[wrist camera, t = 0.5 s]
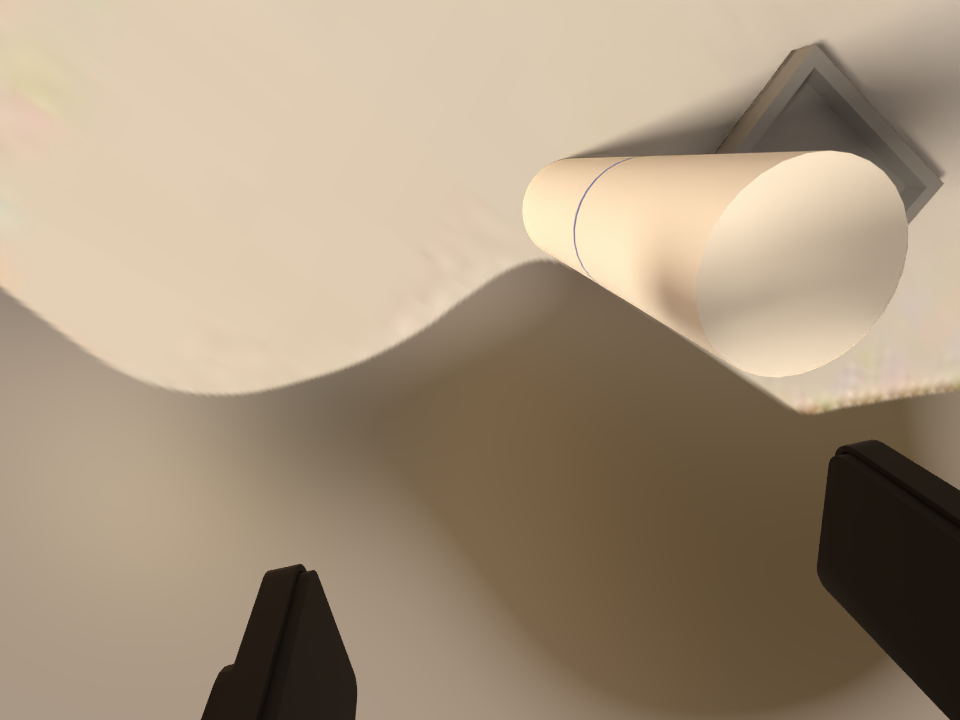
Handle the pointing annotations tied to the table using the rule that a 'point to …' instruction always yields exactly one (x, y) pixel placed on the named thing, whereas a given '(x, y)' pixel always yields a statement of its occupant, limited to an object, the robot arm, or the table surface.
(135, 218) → the table surface
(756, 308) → the cylindrical container
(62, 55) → the table surface
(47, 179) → the table surface
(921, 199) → the desk tray
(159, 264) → the table surface
